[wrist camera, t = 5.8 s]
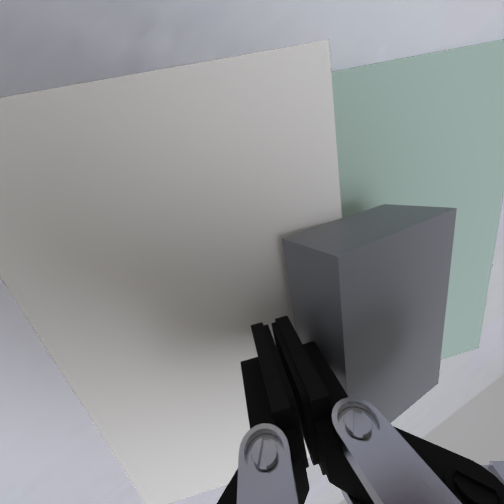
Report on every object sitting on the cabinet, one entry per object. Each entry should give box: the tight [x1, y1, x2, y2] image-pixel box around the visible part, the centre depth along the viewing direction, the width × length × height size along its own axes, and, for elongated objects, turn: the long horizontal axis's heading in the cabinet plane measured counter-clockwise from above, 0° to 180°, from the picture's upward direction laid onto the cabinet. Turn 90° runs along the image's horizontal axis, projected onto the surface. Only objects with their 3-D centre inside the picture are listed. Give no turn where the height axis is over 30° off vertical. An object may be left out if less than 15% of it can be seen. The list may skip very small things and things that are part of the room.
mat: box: [331, 39, 504, 359], centre depth 16 cm, size 22×12×1 cm, turn 12°
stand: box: [0, 40, 342, 504], centre depth 13 cm, size 22×14×4 cm, turn 12°
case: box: [282, 204, 457, 423], centre depth 11 cm, size 9×6×3 cm, turn 11°
